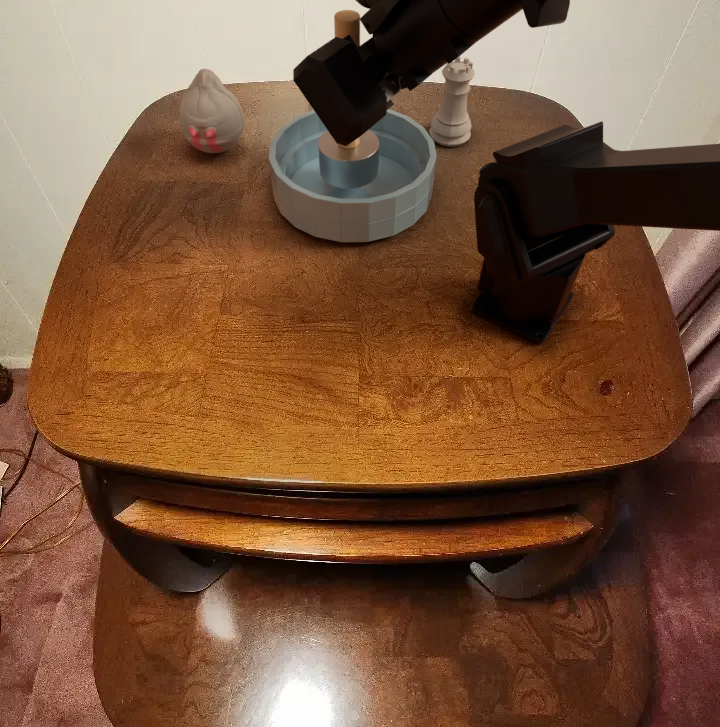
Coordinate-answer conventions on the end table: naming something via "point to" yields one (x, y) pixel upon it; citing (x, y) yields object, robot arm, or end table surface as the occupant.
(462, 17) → the robot arm
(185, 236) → the end table surface
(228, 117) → the figurine
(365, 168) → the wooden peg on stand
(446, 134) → the rook chess piece
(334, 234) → the bowl
